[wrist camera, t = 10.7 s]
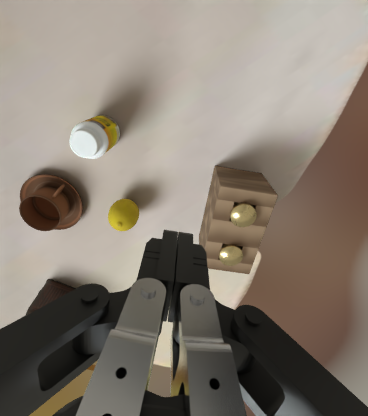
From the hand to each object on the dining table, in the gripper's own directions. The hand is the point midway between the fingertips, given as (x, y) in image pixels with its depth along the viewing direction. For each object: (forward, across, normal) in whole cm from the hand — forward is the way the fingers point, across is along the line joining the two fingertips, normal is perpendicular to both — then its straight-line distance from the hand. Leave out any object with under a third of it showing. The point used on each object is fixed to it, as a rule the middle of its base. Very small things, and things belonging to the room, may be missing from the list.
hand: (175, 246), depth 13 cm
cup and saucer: (+35, +24, +18) cm, 46 cm away
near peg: (+34, -11, +10) cm, 37 cm away
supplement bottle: (+35, +14, +3) cm, 38 cm away
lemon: (+35, +9, +17) cm, 40 cm away
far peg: (+34, -11, +18) cm, 40 cm away
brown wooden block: (+35, -11, +14) cm, 39 cm away
